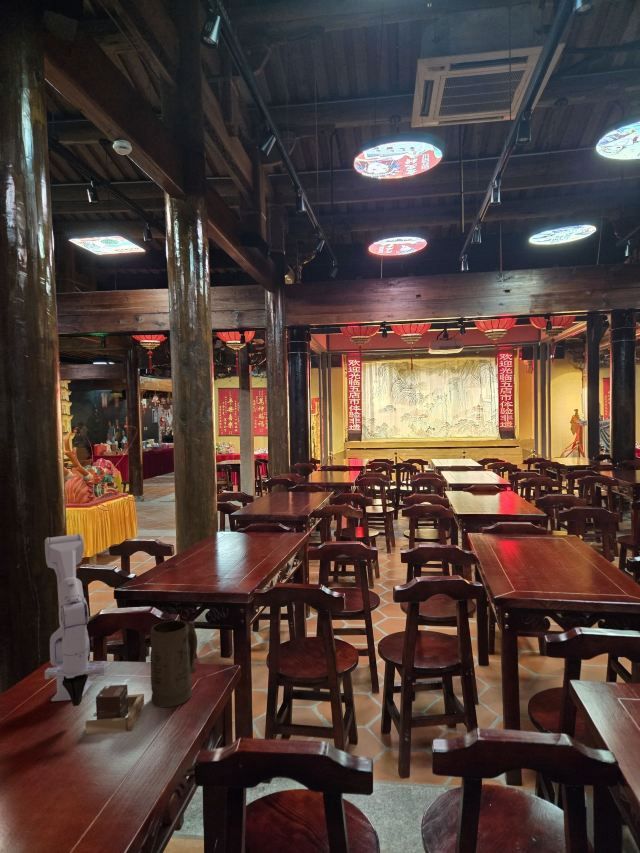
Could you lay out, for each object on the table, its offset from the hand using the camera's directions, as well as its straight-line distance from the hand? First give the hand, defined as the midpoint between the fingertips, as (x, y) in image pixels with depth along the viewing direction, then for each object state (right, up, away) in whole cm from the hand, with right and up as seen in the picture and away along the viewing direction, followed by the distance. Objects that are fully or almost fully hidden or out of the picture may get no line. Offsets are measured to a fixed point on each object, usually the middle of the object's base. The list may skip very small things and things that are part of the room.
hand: (77, 703), depth 133 cm
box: (+9, -4, +1) cm, 10 cm away
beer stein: (+22, -4, +13) cm, 26 cm away
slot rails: (+9, -4, +1) cm, 10 cm away
